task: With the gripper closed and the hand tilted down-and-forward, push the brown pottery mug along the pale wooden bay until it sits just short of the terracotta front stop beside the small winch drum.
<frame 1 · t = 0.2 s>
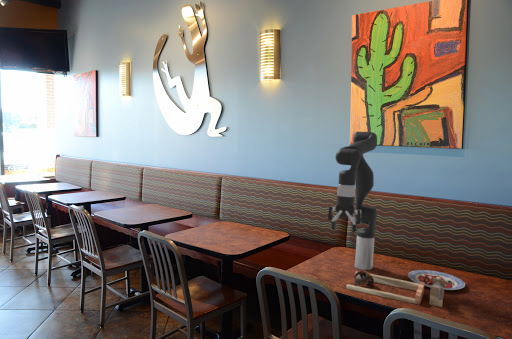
hand: (343, 231, 175), 29 cm above the table, tool pointing down, fingers open, 8 cm apart
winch: (436, 300, 175), on the table
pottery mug: (363, 285, 190), on the table
ceramic plate: (435, 283, 198), on the table
bay: (385, 289, 186), on the table
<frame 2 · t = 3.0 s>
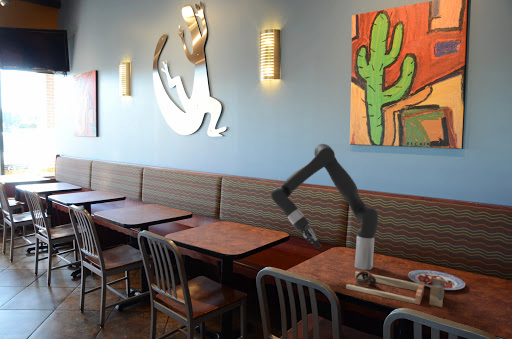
hand: (319, 247, 199), 14 cm above the table, tool tilted 45°, fingers closed
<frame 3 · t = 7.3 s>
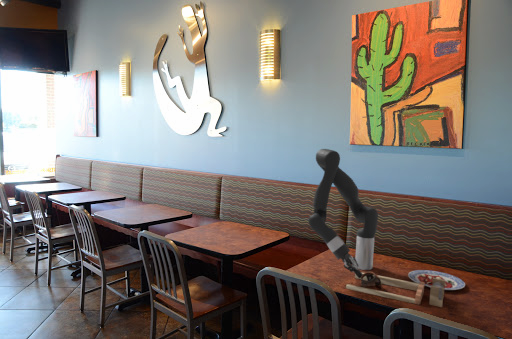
hand: (361, 276, 191), 4 cm above the table, tool tilted 45°, fingers closed
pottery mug: (370, 287, 189), on the table
everything else where it was.
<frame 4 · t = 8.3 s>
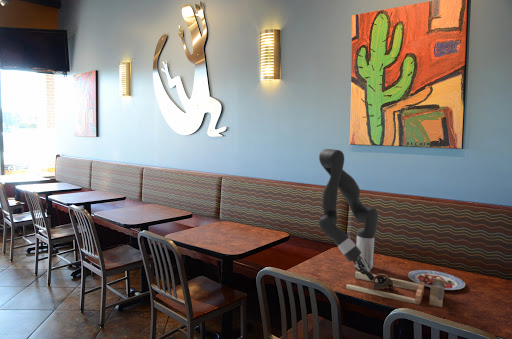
hand: (373, 279, 188), 4 cm above the table, tool tilted 45°, fingers closed
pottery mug: (382, 289, 186), on the table, touching gripper
everything else where it was.
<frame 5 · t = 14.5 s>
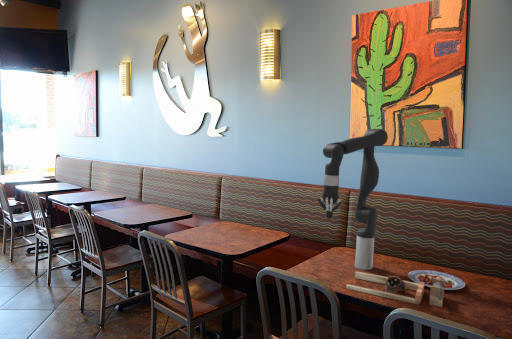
hand: (329, 218, 200), 29 cm above the table, tool pointing down, fingers closed
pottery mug: (394, 291, 184), on the table
everything else where it was.
at the end: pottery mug inside the target area (2.5 cm from its centre), on the table; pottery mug tilted 0°; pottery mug moved 14.1 cm from its start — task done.
